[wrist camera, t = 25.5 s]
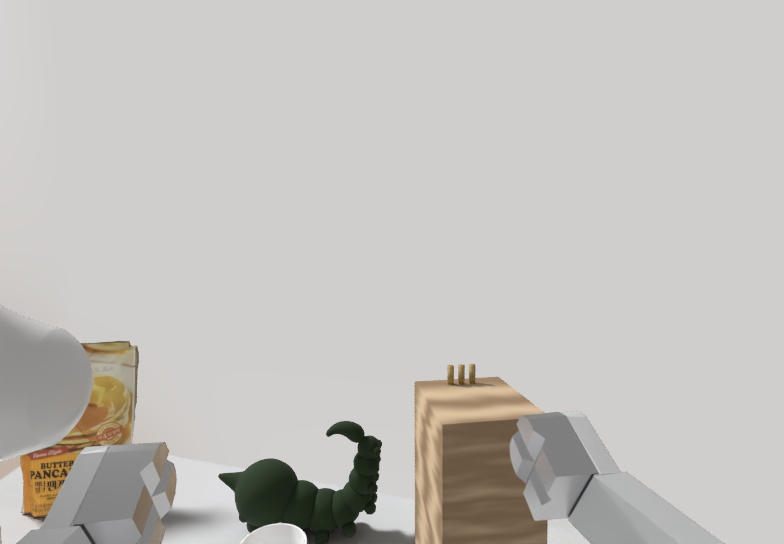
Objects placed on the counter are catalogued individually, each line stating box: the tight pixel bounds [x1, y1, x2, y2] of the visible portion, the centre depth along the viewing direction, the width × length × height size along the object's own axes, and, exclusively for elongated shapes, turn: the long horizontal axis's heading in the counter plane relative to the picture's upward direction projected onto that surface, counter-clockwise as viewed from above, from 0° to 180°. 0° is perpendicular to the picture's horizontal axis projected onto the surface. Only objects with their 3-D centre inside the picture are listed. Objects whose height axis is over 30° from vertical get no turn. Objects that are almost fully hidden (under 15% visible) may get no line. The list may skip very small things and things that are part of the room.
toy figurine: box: [218, 421, 382, 544], centre depth 67 cm, size 9×19×25 cm
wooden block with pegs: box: [415, 364, 547, 544], centre depth 54 cm, size 14×12×28 cm
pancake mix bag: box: [20, 341, 139, 517], centre depth 74 cm, size 7×19×28 cm, turn 103°
